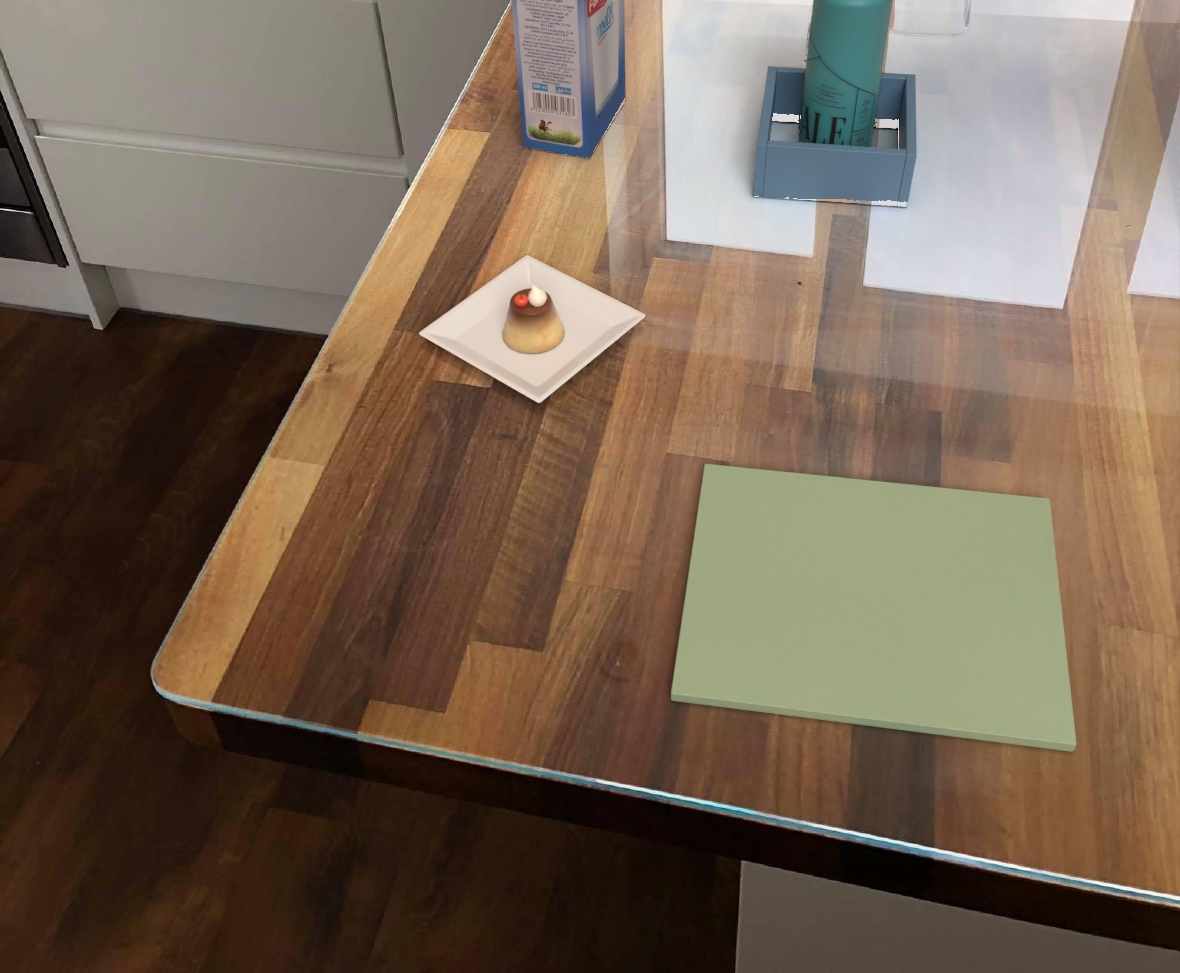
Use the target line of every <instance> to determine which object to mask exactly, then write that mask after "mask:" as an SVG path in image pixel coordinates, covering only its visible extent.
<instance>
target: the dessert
mask: <svg viewBox="0 0 1180 973" xmlns="http://www.w3.org/2000/svg"><path fill="white" fill-rule="evenodd" d="M646 316H647V315H646V313H643V312H642V311H639V310H638V309H635V308H633V307H632V306H629V305H627V304H626V303H624V302H622V301H620V300H618V299H615V298H614V297H612V296H610V295H607V294H606V293H604V292H601V291H599V290H598V289H596V288H594V287H592V286H590V285H588V284H586V283H584V282H583V281H580V280H578V279H576V278H574V277H572V276H570V275H568V274H566V273H565V272H562V271H560V270H558V269H556V268H555V267H552V266H550V265H548V264H547V263H544V261H543V262H542V261H541V260H539V259H537V258H535V257H532V256H531V255H528V254H525V255H524V256H522V258H520V259H519V260H518V261H516V262H515V263H513V264H512V265H510V266H509V267H508V268H506V269H505V270H504V271H502V272H501V273H500V274H498V275H496V276H495V277H494V278H492V279H491V280H490V281H488V282H487V283H485V284H484V285H483V286H481V287H480V288H479V289H477V290H476V291H474V292H473V293H471V294H470V295H469V296H467V297H466V298H465V299H463V300H462V301H461V302H459V303H457V304H456V305H455V306H454V307H452V308H451V309H450V310H448V311H446V312H445V313H444V314H442V315H441V316H439V317H438V318H437V319H436V320H434V321H432V323H430V324H429V325H427V326H425V327H424V328H423V329H421V330H420V331H419V332H418V335H419V336H421V337H422V338H424V339H427V341H430V342H432V343H433V344H435V345H436V346H439V347H440V348H442V349H444V350H445V351H447V352H449V353H451V354H452V355H454V356H456V357H458V358H459V359H461V360H463V361H464V362H466V363H468V364H469V365H471V366H473V367H475V368H476V369H478V370H480V371H481V372H483V373H485V374H487V375H489V376H490V377H491V378H494V379H496V380H497V381H499V382H501V383H502V384H504V385H506V386H508V387H509V388H510V389H513V390H515V391H516V392H518V393H520V394H521V395H524V396H525V397H527V398H528V399H530V400H533V401H534V402H536V403H538V404H540V403H542V402H544V400H545V399H547V398H548V397H550V396H551V395H552V394H553V393H554V392H555V391H557V390H558V389H559V388H560V387H562V386H563V385H564V384H565V383H566V382H568V381H569V380H570V379H572V377H574V376H575V375H576V374H578V373H579V372H580V371H581V370H582V369H583V368H585V367H586V366H587V365H588V364H589V363H591V362H592V361H593V360H594V359H596V358H597V357H598V356H599V355H601V354H602V353H603V352H604V351H605V350H607V349H608V348H609V347H610V346H612V345H613V344H614V343H615V342H617V341H618V340H619V339H621V337H623V336H624V335H625V334H627V332H629V331H630V330H631V329H633V328H634V327H635V326H636V325H637V324H638V323H640V322H641V321H643V319H644V318H646Z"/></svg>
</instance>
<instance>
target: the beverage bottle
mask: <svg viewBox="0 0 1180 973" xmlns="http://www.w3.org/2000/svg"><path fill="white" fill-rule="evenodd" d="M893 2H894V0H812V5H811V7H812V8H811V15H810V16H811V17H810V23H809V25H808V27H807V29H809V30H807V31H808V32H807V35H806V36H807V37H806V44H805V50H807V51H806V53H805V56H806V59H804V62H805V63H806V64H805V68H806V69H805V72H804V73H805V77H804V76H803V77H804V79H805V81H804V79H803V81H804V90H803V100H800V102H801V103H802V104H801V105H802V109H801V108H800V109H801V110H799V120H798V121H799V124H798V125H797V133H796V134H797V137H796V138H797V142H801V143H817V144H832V145H848V146H863V147H872V144H873V138H874V136H875V133H874V131H876V130H877V128H874V125H875V123H877V122H875V117H876V114H877V112H876V110H877V105H878V104H879V103H880V102H879V103H878V96H881V95H880V94H879V90H880V87H881V86H880V83H881V73H883V67H884V66H883V65H884V58H885V54H886V53H885V52H886V46H887V40H888V33H889V28H890V20H891V15H892V8H893ZM804 73H803V74H804ZM882 81H883V76H882ZM802 83H803V82H802ZM881 89H882V88H881ZM801 99H802V98H801ZM877 103H878V104H877ZM801 105H800V107H801ZM800 111H801V119H800ZM877 111H878V110H877ZM875 127H876V126H875Z"/></svg>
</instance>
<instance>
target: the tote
mask: <svg viewBox="0 0 1180 973" xmlns="http://www.w3.org/2000/svg"><path fill="white" fill-rule="evenodd" d="M805 69H806V67H790V66H777V65H776V66H775V65H774V66H772V65H768V66H767V72H766V79H765V86H764V93H763V100H762V106H761V114H760V120H759V126H758V135H757V142H756V152H755V162H754V163H755V164H754V178H753V179H754V180H753V189H752V197H753V196H759V197H762V198H763V197H769V198H768V199H773V198H782V199H781V200H784V199H783V198H786V197H789V199H793V198H797V199H847V200H852V199H853V200H854V201H856V200H860V201H862V200H866V201H879V200H880V201H882V200H883V201H887V200H891V201H897V202H898V201H899V202H904V201H905V202H908V203H909V198H910V193H911V188H912V187H911V186H912V183H913V177H914V173H915V167H916V162H917V161H916V160H917V156H918V155H917V153H918V150H917V149H918V148H917V146H918V144H917V90H916V88H917V87H916V86H917V85H916V83H917V82H916V80H917V79H916V74H914V73H896V72H881V83H880V86H881V87H880V90H879V94H880V95H881V96H878V103H879V102H880V103H879V104H878V103H877V104H878V105H877V110H878V111H877V110H876V112H877V114H876V117H875V118H876V119H892V120H895V119H897V120H898V119H899V149H897V148H892V147H876V146H871V147H863V146H848V145H832V144H817V143H801V142H799V141H786V140H785V141H783V140H771V135H770V133H772V128H771V125H772V126H773V121H772V117H773V113H777V114H787V115H789V114H794V115H799V110H801V109H802V105H801V104H802V103H801V102H800V100H803V90H804V81H805V79H804V77H805V73H804V72H805ZM803 73H804V74H803ZM803 76H804V77H803ZM882 76H883V81H882ZM803 79H804V81H803ZM802 82H803V83H802ZM881 88H882V89H881ZM801 98H802V99H801ZM800 105H801V107H800ZM800 108H801V109H800ZM800 115H801V111H800Z"/></svg>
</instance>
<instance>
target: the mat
mask: <svg viewBox="0 0 1180 973" xmlns="http://www.w3.org/2000/svg"><path fill="white" fill-rule="evenodd" d="M702 471H703V472H702V479H701V485H700V491H699V498H698V505H697V511H696V512H697V513H696V519H695V526H694V534H693V538H692V540H693V541H692V544H691V545H692V546H691V553H690V560H689V565H688V566H689V567H688V573H687V581H686V586H685V592H684V601H683V606H682V613H681V622H680V628H679V634H678V641H677V647H676V655H675V663H674V668H673V676H672V681H671V688H670V701H671V702H677V703H678V702H679V703H687V704H695V705H701V706H703V705H704V706H711V707H718V708H726V709H734V710H740V711H741V710H742V711H750V712H756V713H757V712H758V713H765V714H774V715H780V716H788V717H795V718H805V719H813V720H820V721H828V722H834V723H843V724H851V725H857V726H858V725H859V726H868V727H874V728H883V729H890V730H897V731H905V732H912V733H913V732H915V733H921V734H930V735H937V736H938V735H939V736H944V737H952V738H961V739H968V740H970V739H971V740H975V741H985V742H991V743H992V742H993V743H1000V744H1008V745H1016V746H1022V747H1030V748H1037V749H1038V748H1039V749H1046V750H1055V751H1063V752H1069V753H1070V752H1071V753H1073V752H1074V751H1075V749H1076V747H1077V745H1078V744H1077V743H1078V742H1077V736H1076V727H1075V716H1074V709H1073V699H1072V698H1073V697H1072V689H1071V688H1072V687H1071V679H1070V671H1069V662H1068V661H1069V660H1068V653H1067V652H1068V651H1067V643H1066V634H1065V625H1064V616H1063V607H1062V596H1061V589H1060V580H1059V571H1058V570H1059V569H1058V559H1057V552H1056V544H1055V543H1056V541H1055V535H1054V534H1055V533H1054V524H1053V514H1052V506H1051V499H1050V498H1049V497H1039V496H1029V495H1019V494H1009V493H999V492H991V491H990V492H989V491H980V490H972V489H971V490H970V489H960V488H951V487H950V488H949V487H940V486H930V485H921V484H911V483H900V482H891V481H882V480H871V479H862V478H861V479H860V478H851V477H841V476H831V475H822V474H812V473H802V472H801V473H800V472H794V471H793V472H791V471H781V470H774V469H773V470H772V469H763V468H762V469H761V468H751V467H744V466H743V467H742V466H732V465H723V464H713V463H704V465H703V470H702Z"/></svg>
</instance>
